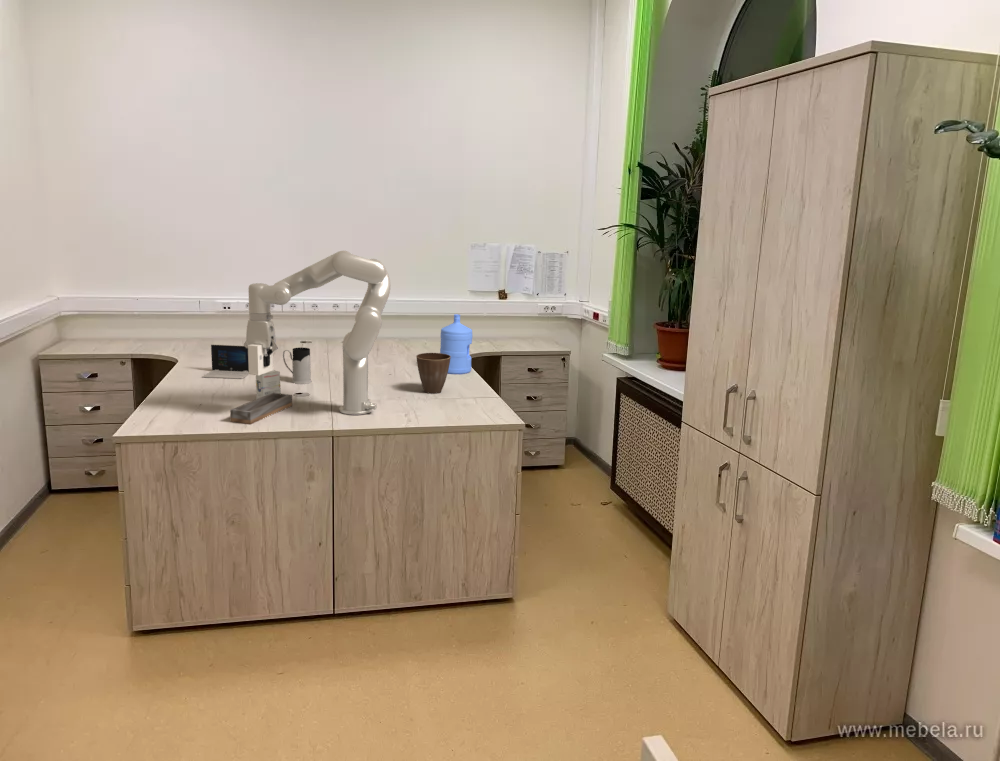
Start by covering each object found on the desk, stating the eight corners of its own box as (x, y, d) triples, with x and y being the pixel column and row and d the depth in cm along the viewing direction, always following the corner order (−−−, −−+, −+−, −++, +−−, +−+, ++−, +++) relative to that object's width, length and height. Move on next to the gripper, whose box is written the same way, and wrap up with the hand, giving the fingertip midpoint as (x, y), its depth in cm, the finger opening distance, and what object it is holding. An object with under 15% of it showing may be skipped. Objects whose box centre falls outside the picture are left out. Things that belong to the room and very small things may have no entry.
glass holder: (304, 385, 337) (303, 351, 333) (277, 381, 342) (276, 348, 338) (315, 381, 344) (315, 348, 341) (289, 377, 350) (289, 345, 346)
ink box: (263, 402, 305) (262, 374, 303) (255, 400, 309) (254, 372, 306) (281, 399, 312) (280, 371, 309) (274, 396, 315) (273, 369, 312)
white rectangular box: (273, 370, 291) (272, 341, 289) (258, 375, 282) (257, 346, 280) (264, 369, 293) (263, 340, 290) (248, 374, 283) (247, 345, 281)
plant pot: (444, 397, 326) (445, 360, 323) (411, 394, 329) (411, 357, 326) (453, 389, 341) (454, 354, 337) (421, 386, 343) (422, 351, 340)
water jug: (448, 375, 367) (449, 317, 361) (434, 368, 380) (435, 313, 374) (476, 373, 375) (478, 316, 368) (462, 366, 388) (463, 312, 381)
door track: (292, 405, 303) (291, 394, 302) (250, 424, 277) (250, 412, 276) (273, 403, 305) (273, 392, 304) (230, 421, 279) (230, 409, 278)
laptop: (202, 378, 342) (200, 349, 339) (212, 371, 354) (211, 344, 351) (242, 379, 342) (241, 351, 339) (251, 373, 354) (250, 346, 351)
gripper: (285, 317, 284) (286, 365, 288) (246, 314, 288) (247, 361, 292) (274, 320, 277) (275, 369, 281) (234, 316, 281) (235, 365, 285)
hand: (261, 364), depth 287 cm, fingers closed on white rectangular box, 4 cm apart
